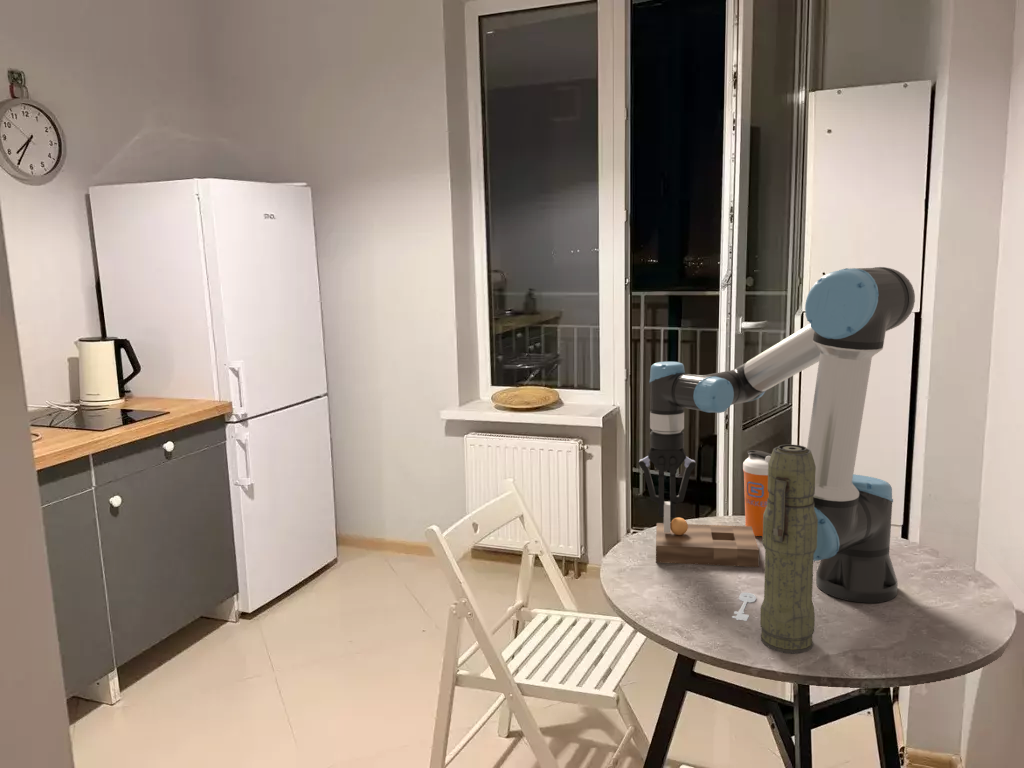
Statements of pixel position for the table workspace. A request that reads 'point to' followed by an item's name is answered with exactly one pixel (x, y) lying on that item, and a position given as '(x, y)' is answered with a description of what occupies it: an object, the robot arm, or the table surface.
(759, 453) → the shaker bottle
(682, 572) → the table surface
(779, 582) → the thermos
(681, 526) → the ball
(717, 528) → the board
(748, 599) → the key
